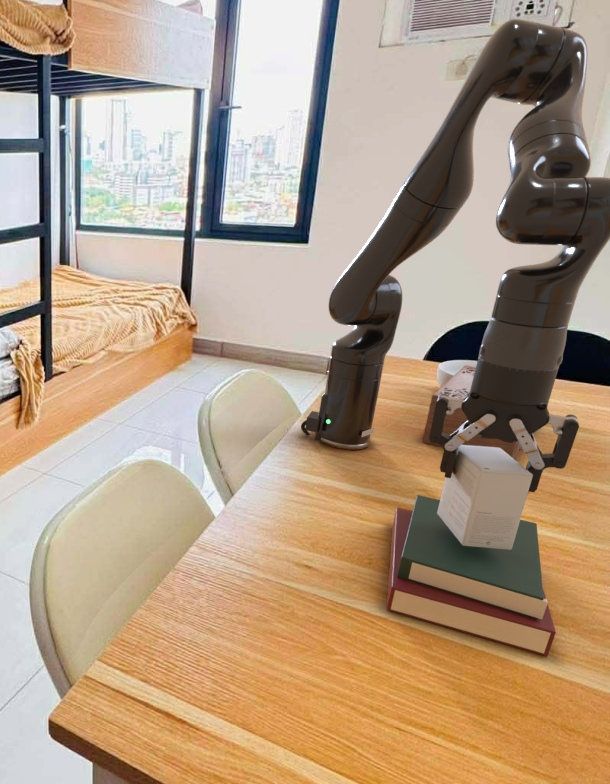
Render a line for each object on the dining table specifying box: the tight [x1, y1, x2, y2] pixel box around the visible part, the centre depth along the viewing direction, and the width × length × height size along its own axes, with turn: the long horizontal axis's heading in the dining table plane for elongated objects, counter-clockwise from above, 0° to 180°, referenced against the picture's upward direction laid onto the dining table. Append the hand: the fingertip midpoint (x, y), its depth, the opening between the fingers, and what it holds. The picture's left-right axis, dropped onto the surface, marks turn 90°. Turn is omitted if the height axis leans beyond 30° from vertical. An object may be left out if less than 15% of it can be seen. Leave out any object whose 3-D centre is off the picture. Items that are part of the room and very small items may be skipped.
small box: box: [437, 445, 533, 550], centre depth 79 cm, size 8×6×10 cm
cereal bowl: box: [436, 359, 478, 388], centre depth 146 cm, size 17×17×7 cm
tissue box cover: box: [421, 365, 522, 460], centre depth 127 cm, size 26×14×10 cm, turn 135°
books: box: [386, 494, 557, 657], centre depth 82 cm, size 16×22×6 cm
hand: (484, 483), depth 78 cm, fingers closed on small box, 7 cm apart
